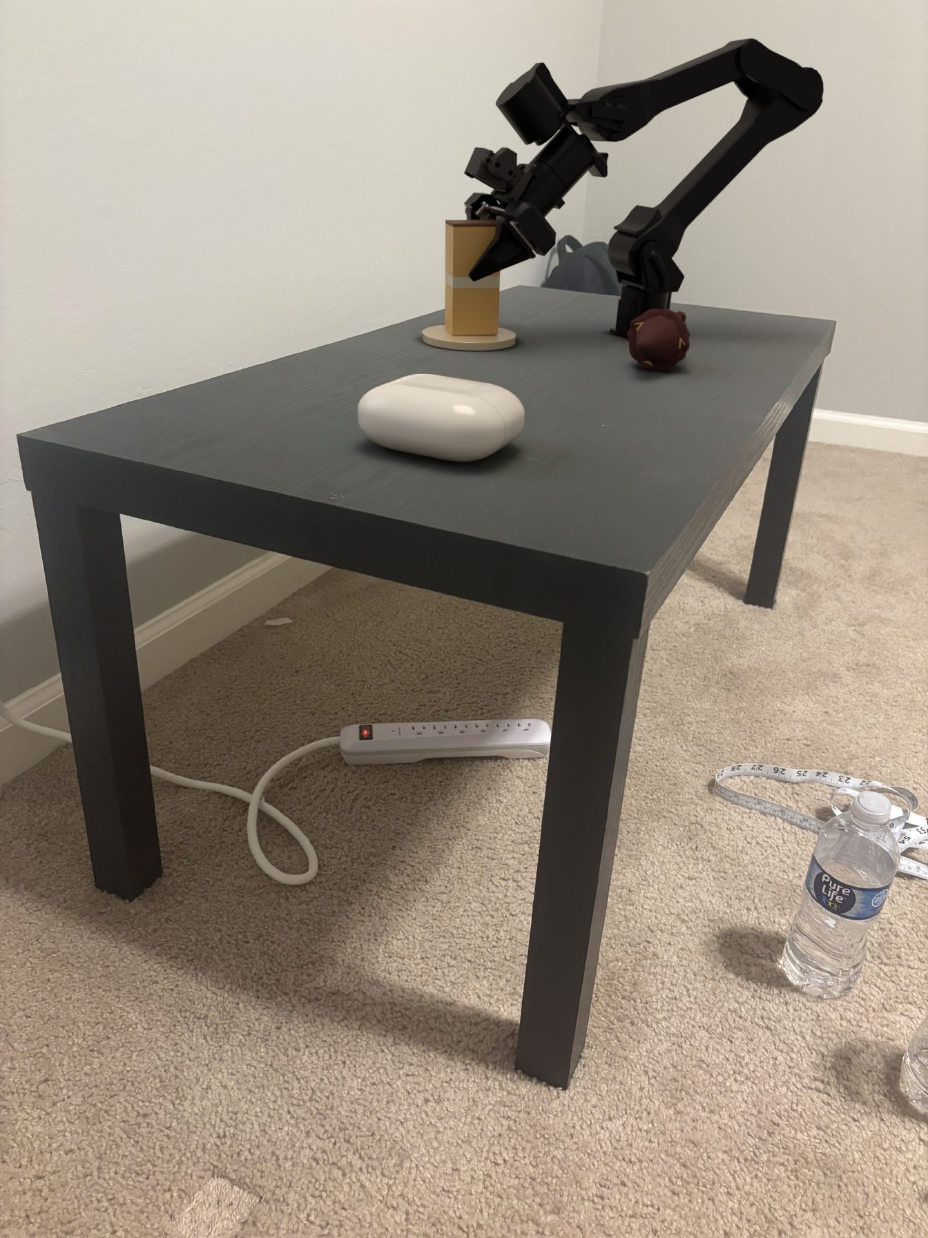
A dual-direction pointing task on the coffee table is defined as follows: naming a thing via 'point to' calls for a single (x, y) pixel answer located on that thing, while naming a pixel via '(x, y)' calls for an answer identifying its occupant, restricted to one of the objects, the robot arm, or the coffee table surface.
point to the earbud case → (441, 417)
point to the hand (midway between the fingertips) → (460, 273)
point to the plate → (468, 339)
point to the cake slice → (466, 300)
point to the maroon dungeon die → (659, 339)
